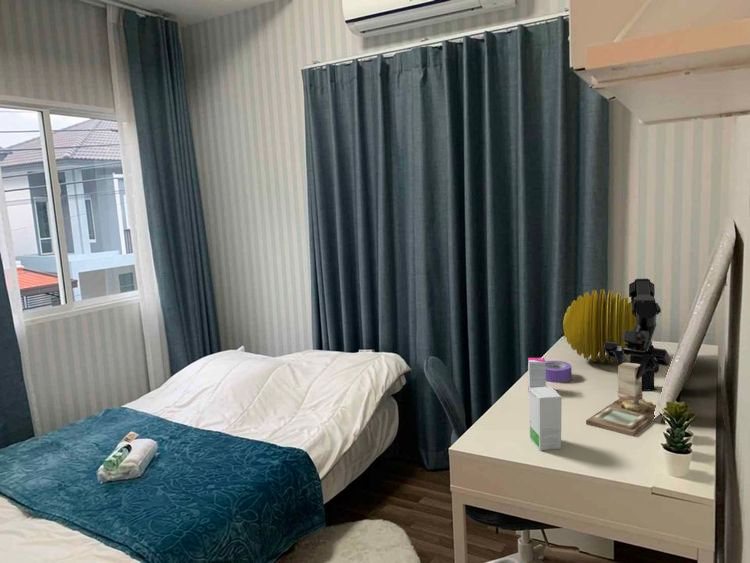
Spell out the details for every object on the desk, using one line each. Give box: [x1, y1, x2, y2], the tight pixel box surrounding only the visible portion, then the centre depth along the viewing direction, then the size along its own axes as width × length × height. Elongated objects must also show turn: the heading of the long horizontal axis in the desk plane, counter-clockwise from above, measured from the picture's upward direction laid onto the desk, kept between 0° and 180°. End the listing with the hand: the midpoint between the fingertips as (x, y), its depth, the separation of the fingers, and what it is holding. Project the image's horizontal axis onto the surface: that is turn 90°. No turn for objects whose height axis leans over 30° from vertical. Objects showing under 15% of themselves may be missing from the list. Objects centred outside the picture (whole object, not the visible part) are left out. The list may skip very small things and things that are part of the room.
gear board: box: [585, 397, 657, 437], centre depth 172 cm, size 24×14×4 cm, turn 133°
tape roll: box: [545, 360, 573, 383], centre depth 212 cm, size 12×12×5 cm
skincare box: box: [528, 385, 563, 452], centre depth 157 cm, size 8×7×16 cm
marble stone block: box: [617, 361, 644, 400], centre depth 172 cm, size 7×7×10 cm
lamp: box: [562, 288, 636, 364], centre depth 224 cm, size 30×30×30 cm
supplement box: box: [527, 357, 547, 394], centre depth 200 cm, size 6×6×12 cm
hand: (627, 376), depth 171 cm, fingers closed on marble stone block, 5 cm apart
